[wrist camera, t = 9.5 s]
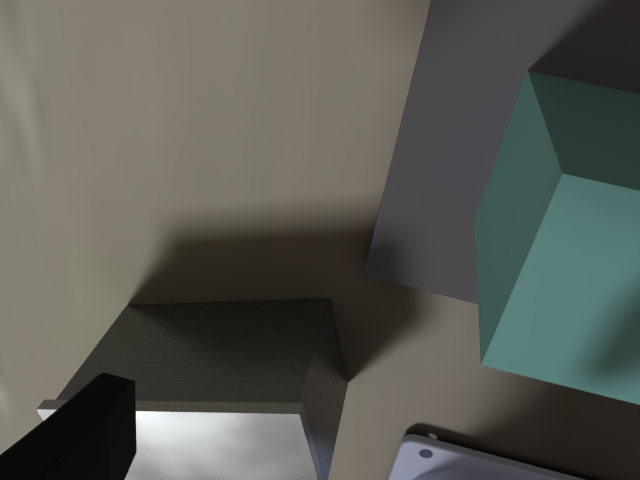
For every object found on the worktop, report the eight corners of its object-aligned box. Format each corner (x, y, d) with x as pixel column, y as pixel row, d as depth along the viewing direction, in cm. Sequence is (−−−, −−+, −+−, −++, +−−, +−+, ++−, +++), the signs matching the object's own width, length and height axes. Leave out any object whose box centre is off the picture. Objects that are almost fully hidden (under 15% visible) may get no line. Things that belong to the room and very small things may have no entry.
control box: (333, 294, 20) (299, 414, 16) (353, 387, 23) (328, 516, 18) (117, 301, 23) (33, 409, 18) (154, 386, 25) (87, 500, 20)
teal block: (711, 109, 15) (844, 236, 10) (630, 257, 17) (702, 420, 12) (527, 70, 15) (562, 173, 10) (474, 221, 17) (481, 364, 12)
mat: (889, 16, 13) (906, 22, 13) (673, 340, 19) (679, 353, 18) (449, -72, 14) (449, -70, 14) (365, 264, 20) (363, 275, 19)
